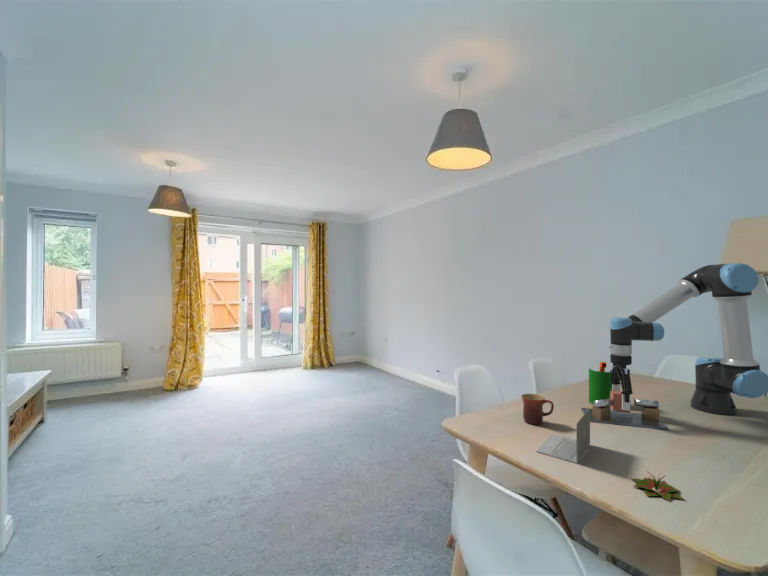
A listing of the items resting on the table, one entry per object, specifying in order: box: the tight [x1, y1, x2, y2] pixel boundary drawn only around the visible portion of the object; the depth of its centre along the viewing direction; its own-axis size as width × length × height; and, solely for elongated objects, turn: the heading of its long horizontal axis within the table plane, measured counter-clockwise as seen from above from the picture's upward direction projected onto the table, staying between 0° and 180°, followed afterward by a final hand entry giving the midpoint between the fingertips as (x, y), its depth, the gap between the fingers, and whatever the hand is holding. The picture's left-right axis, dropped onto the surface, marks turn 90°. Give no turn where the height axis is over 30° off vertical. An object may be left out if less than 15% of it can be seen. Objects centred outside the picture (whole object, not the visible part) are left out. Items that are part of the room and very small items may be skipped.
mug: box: [521, 393, 555, 426], centre depth 144 cm, size 12×9×10 cm
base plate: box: [580, 398, 669, 431], centre depth 148 cm, size 27×15×8 cm, turn 71°
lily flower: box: [630, 471, 686, 503], centre depth 96 cm, size 12×12×5 cm
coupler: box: [609, 390, 632, 412], centre depth 150 cm, size 7×4×7 cm, turn 71°
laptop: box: [536, 408, 591, 465], centre depth 121 cm, size 18×12×13 cm
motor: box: [588, 361, 612, 408], centre depth 167 cm, size 10×9×20 cm
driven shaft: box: [591, 399, 615, 420], centre depth 147 cm, size 8×4×7 cm, turn 106°
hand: (620, 404), depth 150 cm, fingers open, 13 cm apart
